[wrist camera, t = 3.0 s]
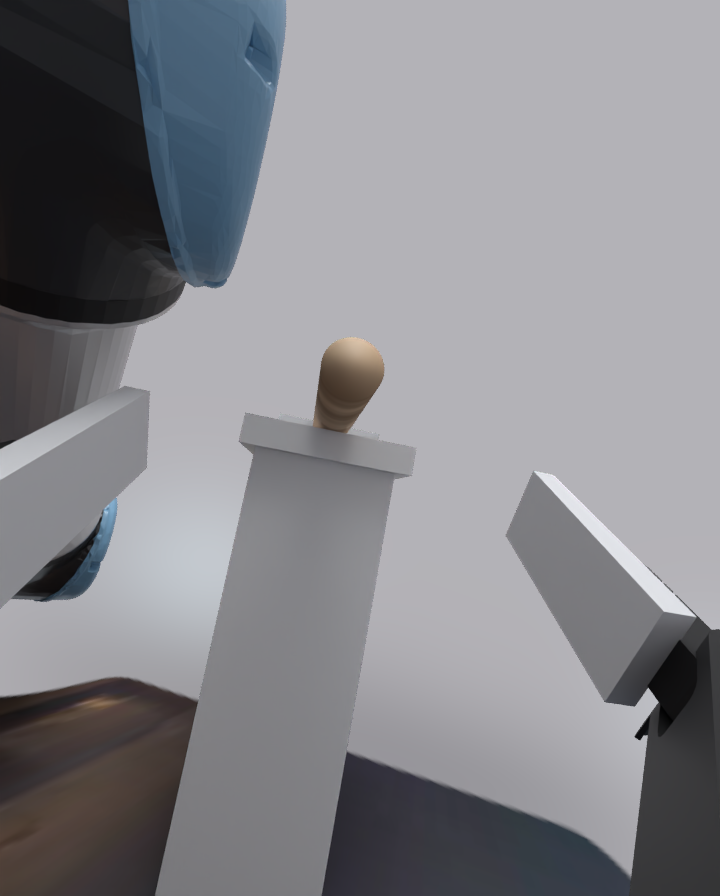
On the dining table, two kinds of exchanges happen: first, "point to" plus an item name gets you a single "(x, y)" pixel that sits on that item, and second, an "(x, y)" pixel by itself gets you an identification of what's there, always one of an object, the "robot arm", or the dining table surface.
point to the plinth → (283, 665)
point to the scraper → (345, 386)
